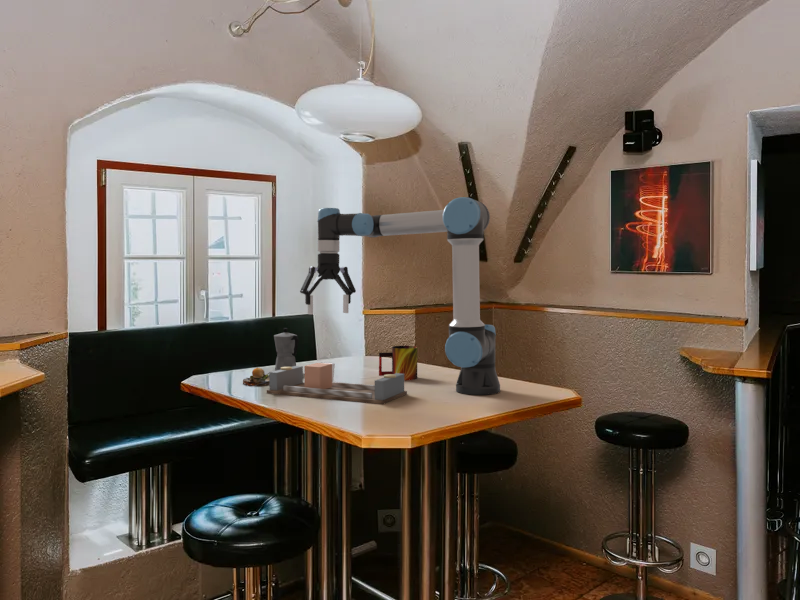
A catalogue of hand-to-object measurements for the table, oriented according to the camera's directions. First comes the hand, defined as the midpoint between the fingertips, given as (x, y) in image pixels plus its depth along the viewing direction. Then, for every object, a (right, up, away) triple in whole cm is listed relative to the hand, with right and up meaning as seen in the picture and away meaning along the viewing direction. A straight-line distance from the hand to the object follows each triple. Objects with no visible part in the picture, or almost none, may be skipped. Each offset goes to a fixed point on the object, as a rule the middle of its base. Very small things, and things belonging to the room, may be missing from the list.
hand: (328, 313), depth 241 cm
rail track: (+4, -27, -9) cm, 28 cm away
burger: (-26, -26, +12) cm, 39 cm away
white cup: (-2, -26, +14) cm, 29 cm away
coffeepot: (-20, -25, +35) cm, 47 cm away
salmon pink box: (-3, -25, -6) cm, 26 cm away
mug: (+25, -25, +21) cm, 41 cm away
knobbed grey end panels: (+4, -26, -9) cm, 28 cm away
